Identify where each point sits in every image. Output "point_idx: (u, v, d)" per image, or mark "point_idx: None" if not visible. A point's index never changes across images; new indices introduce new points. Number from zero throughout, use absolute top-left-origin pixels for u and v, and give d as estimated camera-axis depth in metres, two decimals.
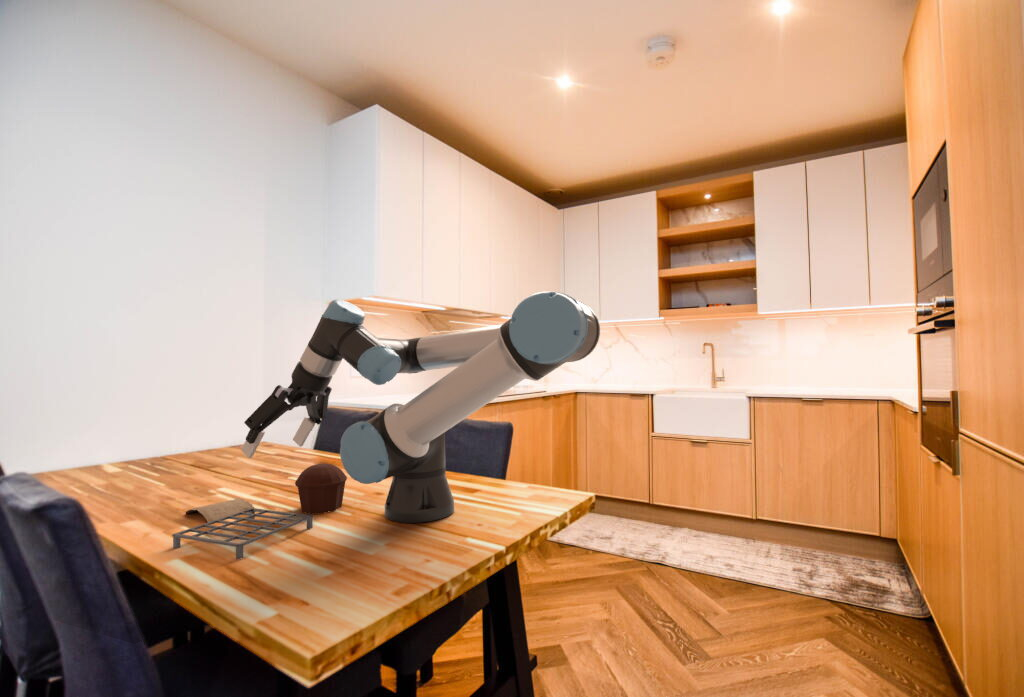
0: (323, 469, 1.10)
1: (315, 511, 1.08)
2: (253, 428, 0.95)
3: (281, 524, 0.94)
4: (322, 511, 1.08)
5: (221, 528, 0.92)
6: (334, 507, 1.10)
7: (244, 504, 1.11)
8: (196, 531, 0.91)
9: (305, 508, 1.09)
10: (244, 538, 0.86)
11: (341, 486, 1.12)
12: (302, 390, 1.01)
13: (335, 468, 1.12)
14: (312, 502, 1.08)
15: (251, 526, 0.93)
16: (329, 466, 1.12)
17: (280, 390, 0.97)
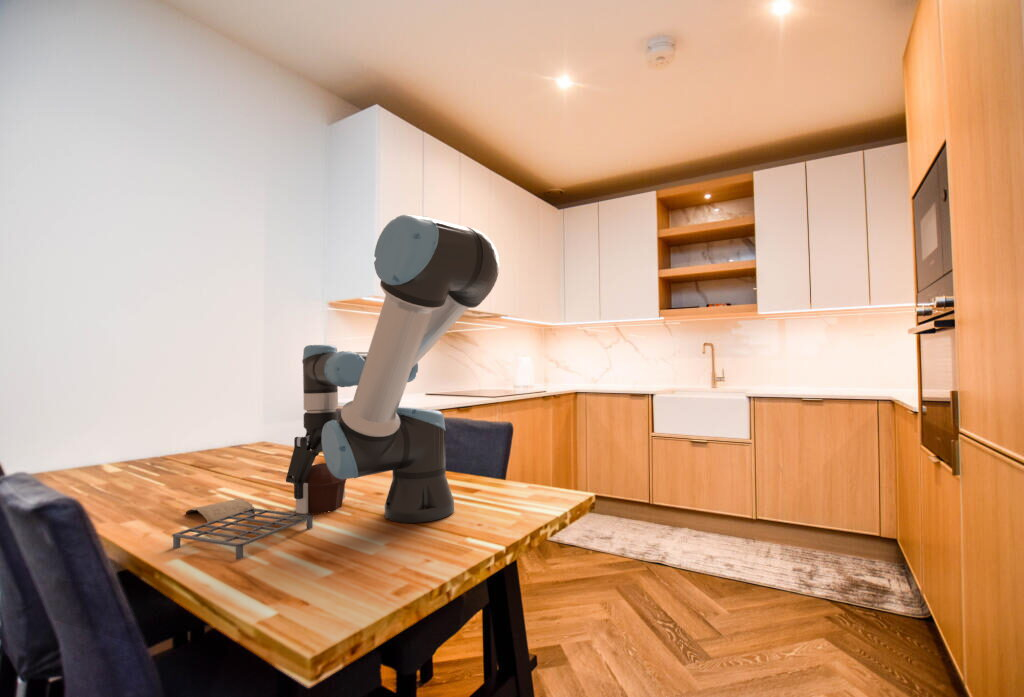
0: (323, 469, 1.10)
1: (315, 511, 1.08)
2: (295, 480, 1.04)
3: (281, 524, 0.94)
4: (322, 511, 1.08)
5: (221, 528, 0.92)
6: (334, 507, 1.10)
7: (244, 504, 1.11)
8: (196, 531, 0.91)
9: None
10: (244, 538, 0.86)
11: (341, 486, 1.12)
12: (318, 432, 1.11)
13: None
14: (312, 502, 1.08)
15: (251, 526, 0.93)
16: None
17: (299, 439, 1.07)
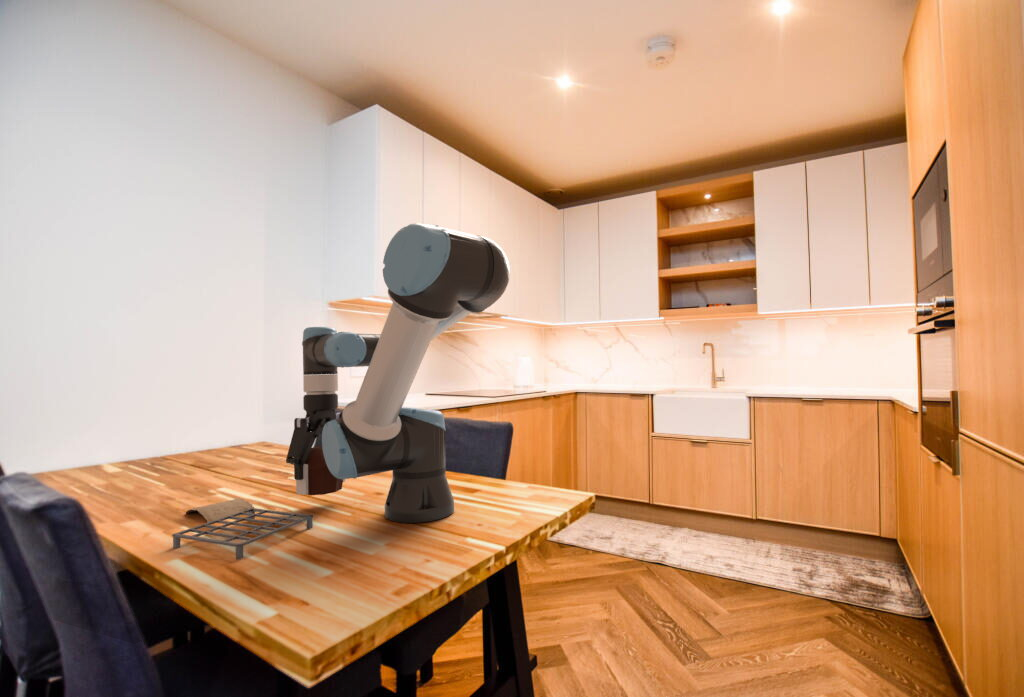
0: None
1: (315, 492, 1.08)
2: (295, 460, 1.04)
3: (281, 524, 0.94)
4: (322, 492, 1.08)
5: (221, 528, 0.92)
6: (334, 489, 1.10)
7: (244, 504, 1.11)
8: (196, 531, 0.91)
9: None
10: (244, 538, 0.86)
11: None
12: (318, 414, 1.11)
13: None
14: (312, 483, 1.08)
15: (251, 526, 0.93)
16: None
17: (299, 420, 1.07)
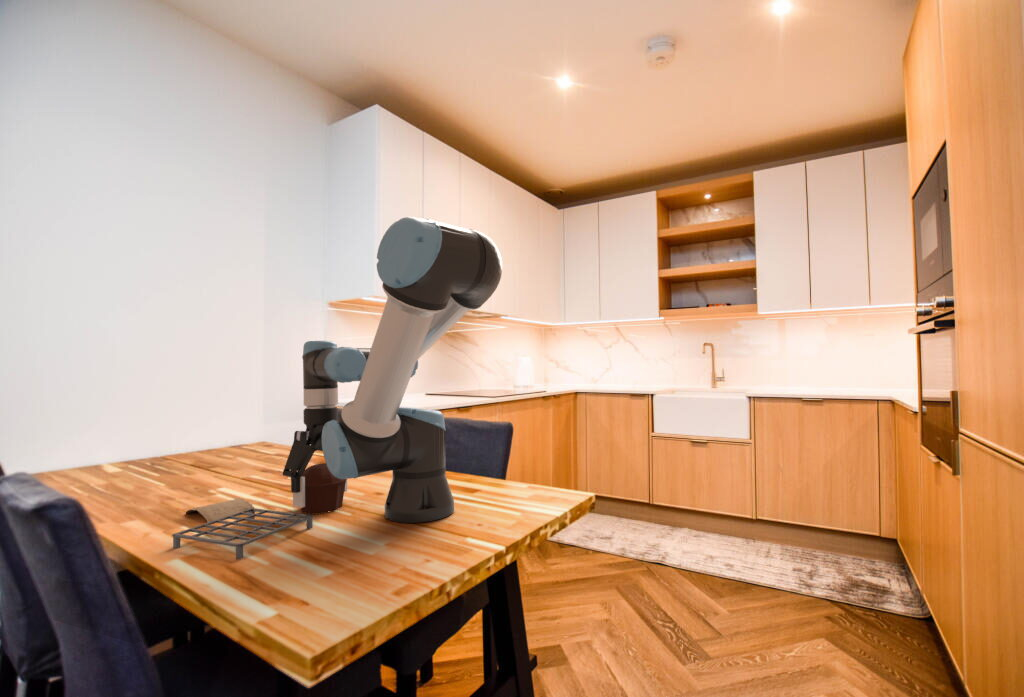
0: (323, 469, 1.10)
1: (315, 511, 1.08)
2: (292, 473, 1.03)
3: (281, 524, 0.94)
4: (322, 511, 1.08)
5: (221, 528, 0.92)
6: (334, 507, 1.10)
7: (244, 504, 1.11)
8: (196, 531, 0.91)
9: (305, 508, 1.09)
10: (244, 538, 0.86)
11: (341, 486, 1.12)
12: (318, 428, 1.11)
13: None
14: (312, 502, 1.08)
15: (251, 526, 0.93)
16: None
17: (299, 433, 1.07)
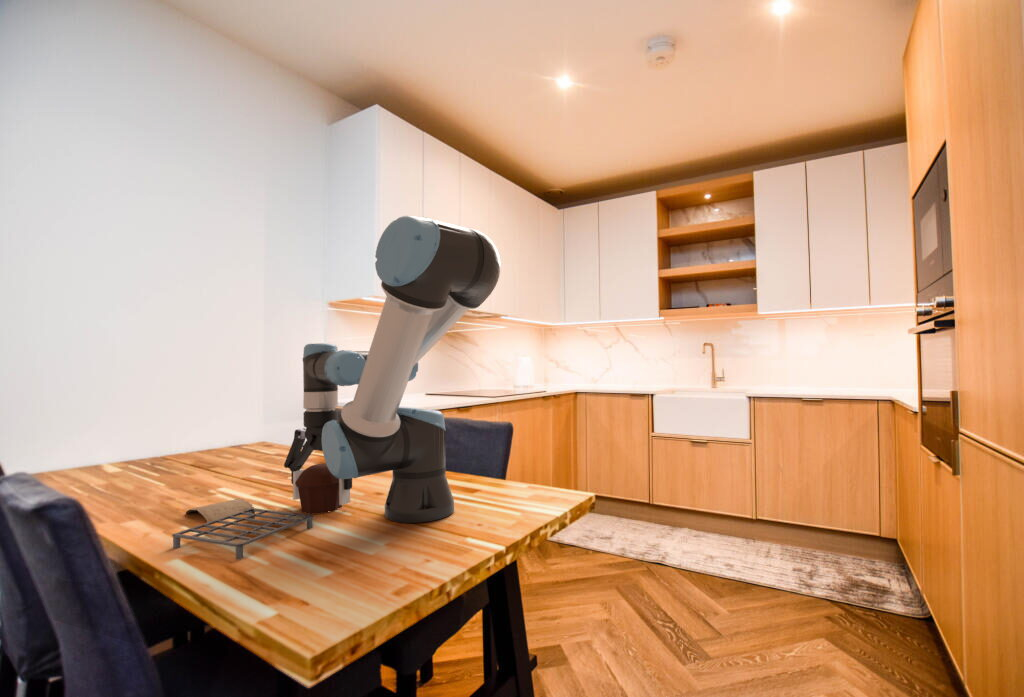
0: (323, 469, 1.10)
1: (315, 511, 1.08)
2: (284, 464, 1.15)
3: (281, 524, 0.94)
4: (322, 511, 1.08)
5: (221, 528, 0.92)
6: (334, 507, 1.10)
7: (244, 504, 1.11)
8: (196, 531, 0.91)
9: (305, 508, 1.09)
10: (244, 538, 0.86)
11: None
12: (310, 430, 1.13)
13: None
14: (312, 502, 1.08)
15: (251, 526, 0.93)
16: None
17: None
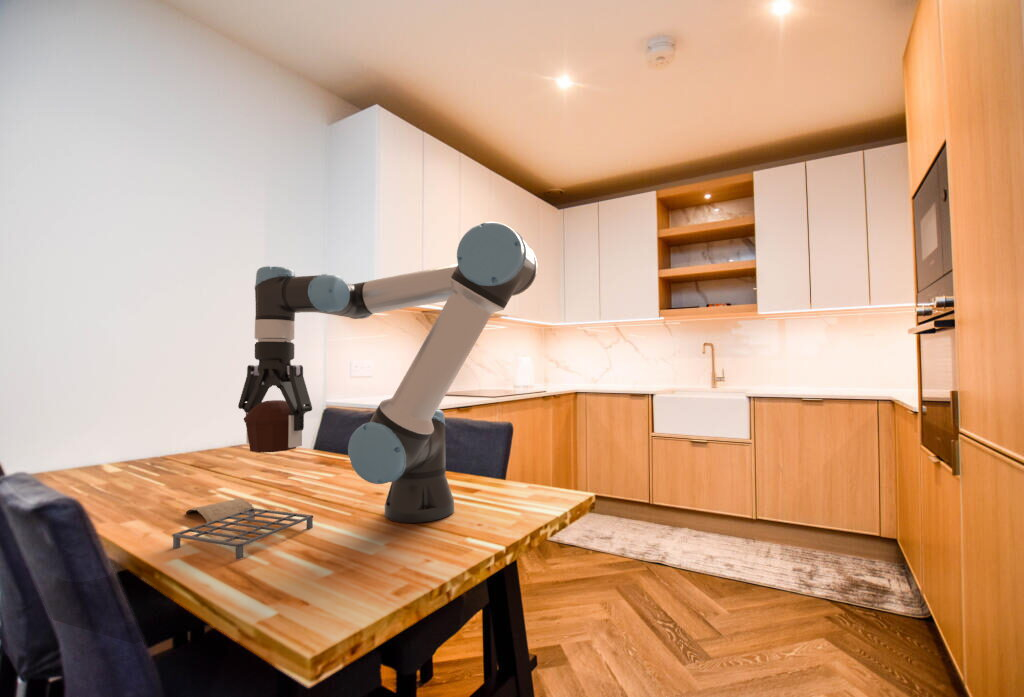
0: (274, 404, 0.99)
1: (263, 449, 0.97)
2: (238, 405, 1.04)
3: (281, 524, 0.94)
4: (271, 450, 0.97)
5: (221, 528, 0.92)
6: (285, 447, 0.99)
7: (244, 504, 1.11)
8: (196, 531, 0.91)
9: (253, 446, 0.98)
10: (244, 538, 0.86)
11: None
12: (263, 364, 1.02)
13: None
14: (260, 439, 0.97)
15: (251, 526, 0.93)
16: (282, 402, 1.01)
17: None
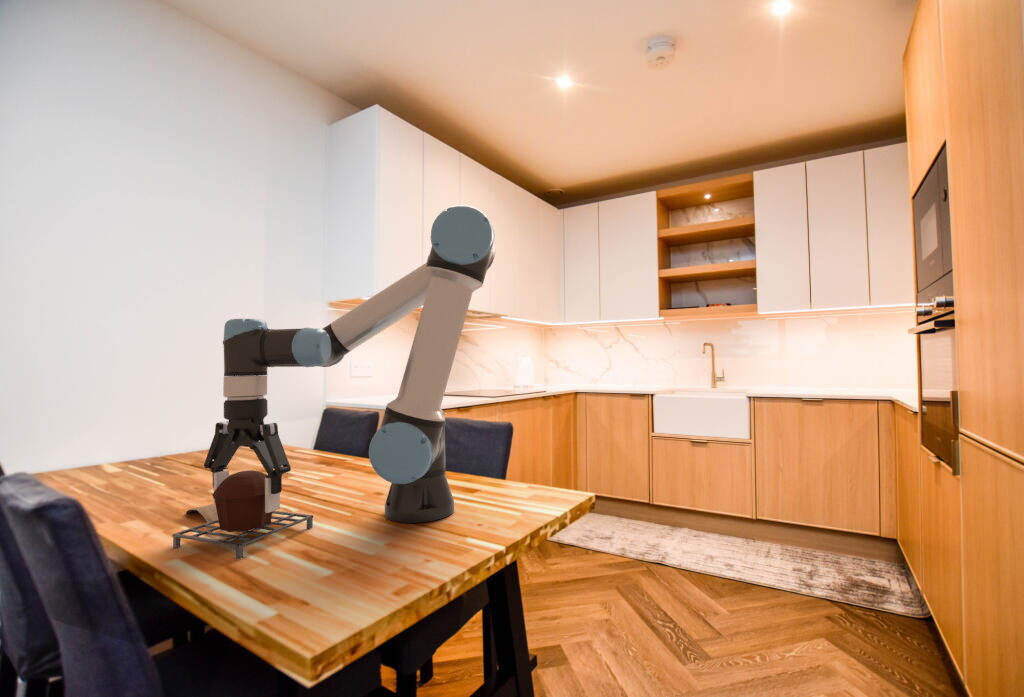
0: (246, 477, 0.92)
1: (235, 528, 0.90)
2: (204, 464, 0.97)
3: (281, 524, 0.94)
4: (243, 528, 0.90)
5: None
6: (259, 523, 0.92)
7: None
8: (196, 531, 0.91)
9: (223, 524, 0.90)
10: (244, 538, 0.86)
11: None
12: (233, 423, 0.94)
13: (262, 476, 0.94)
14: (231, 518, 0.89)
15: None
16: (255, 474, 0.93)
17: None
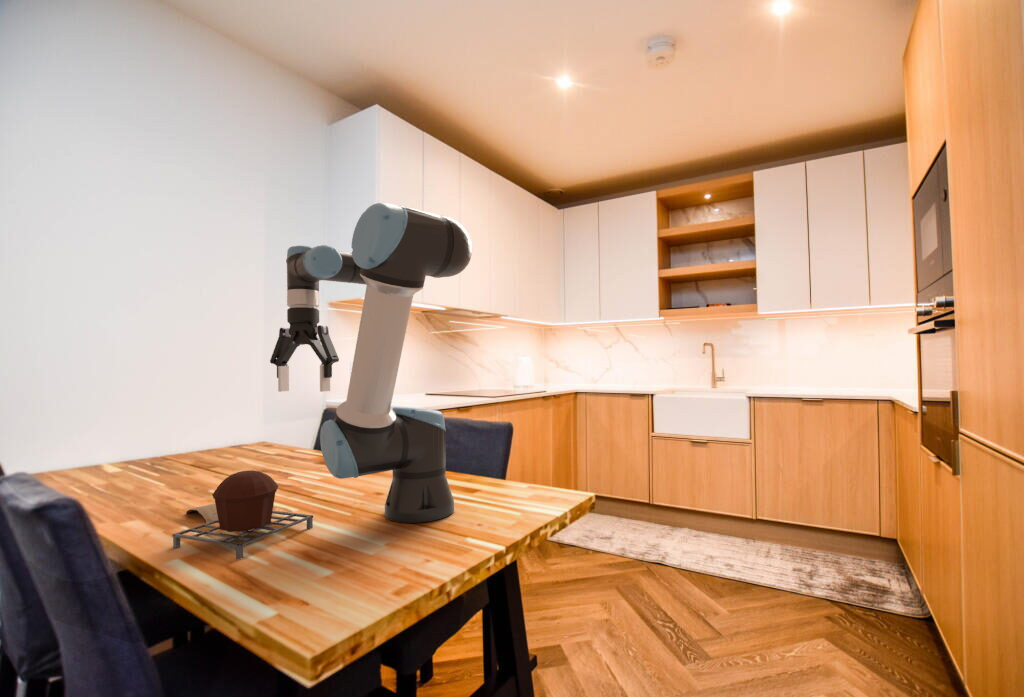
0: (246, 477, 0.92)
1: (235, 528, 0.90)
2: (270, 360, 1.26)
3: (281, 524, 0.94)
4: (243, 528, 0.90)
5: None
6: (259, 523, 0.92)
7: None
8: (196, 531, 0.91)
9: (223, 524, 0.90)
10: (244, 538, 0.86)
11: (269, 498, 0.94)
12: (294, 327, 1.23)
13: (262, 476, 0.94)
14: (231, 518, 0.89)
15: None
16: (255, 474, 0.93)
17: None
